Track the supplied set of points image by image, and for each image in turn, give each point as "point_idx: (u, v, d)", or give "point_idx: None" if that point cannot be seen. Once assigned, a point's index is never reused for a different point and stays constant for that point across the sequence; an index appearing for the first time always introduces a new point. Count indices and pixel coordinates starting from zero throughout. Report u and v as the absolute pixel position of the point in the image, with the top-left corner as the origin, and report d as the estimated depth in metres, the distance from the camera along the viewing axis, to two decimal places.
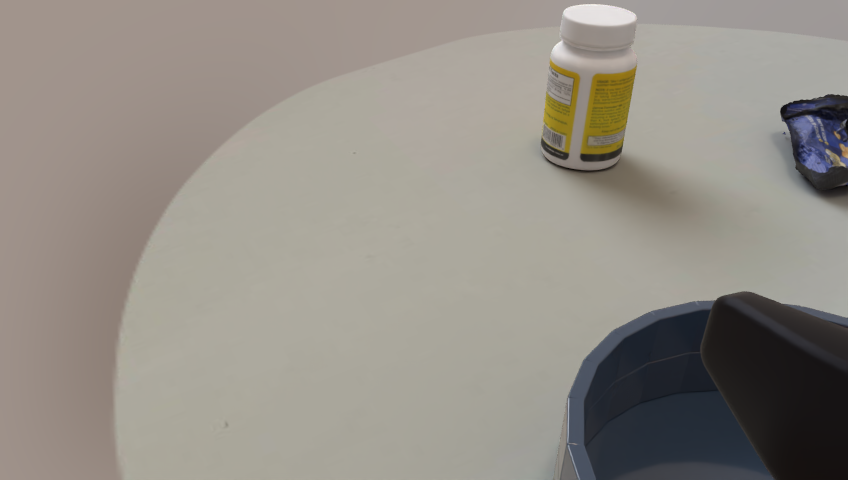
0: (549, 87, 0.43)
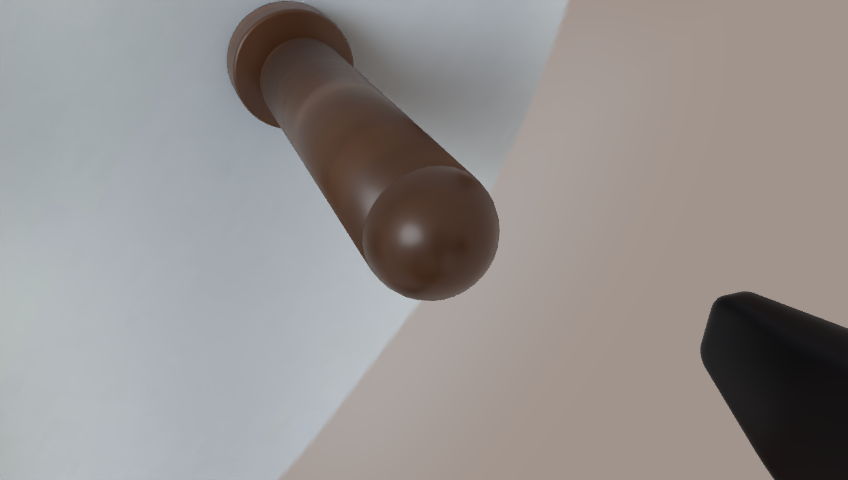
0: None
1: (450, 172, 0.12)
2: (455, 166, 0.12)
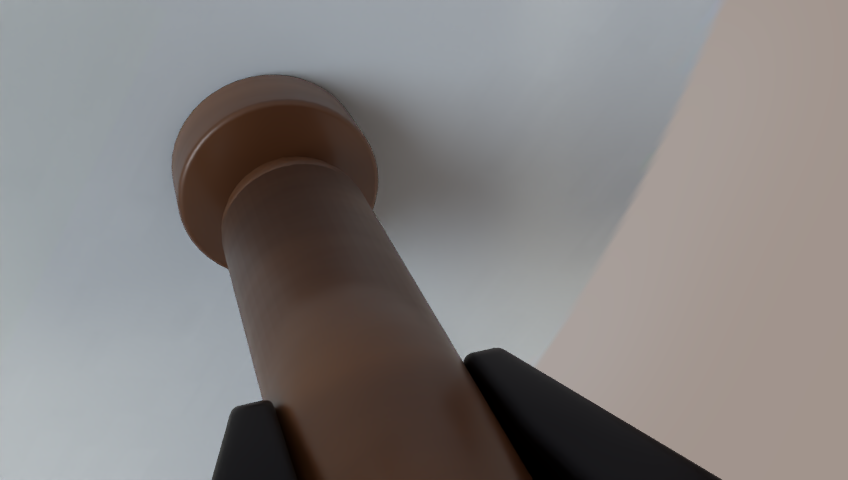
0: None
1: None
2: None
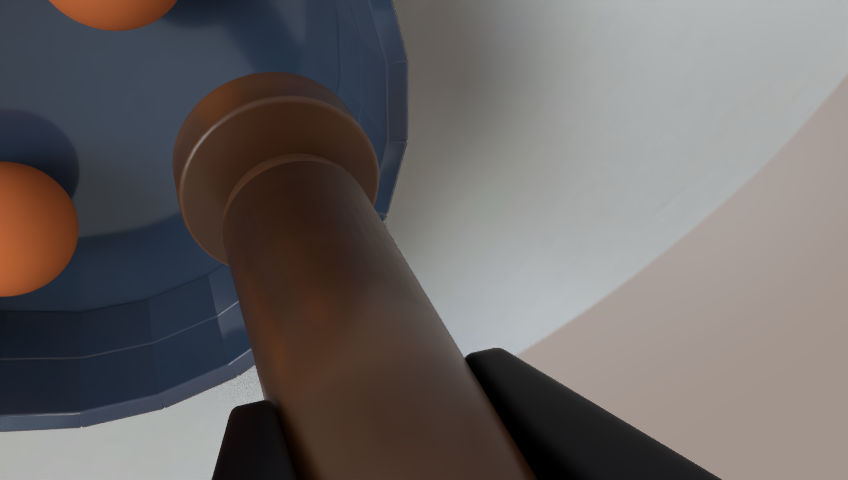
0: None
1: None
2: None
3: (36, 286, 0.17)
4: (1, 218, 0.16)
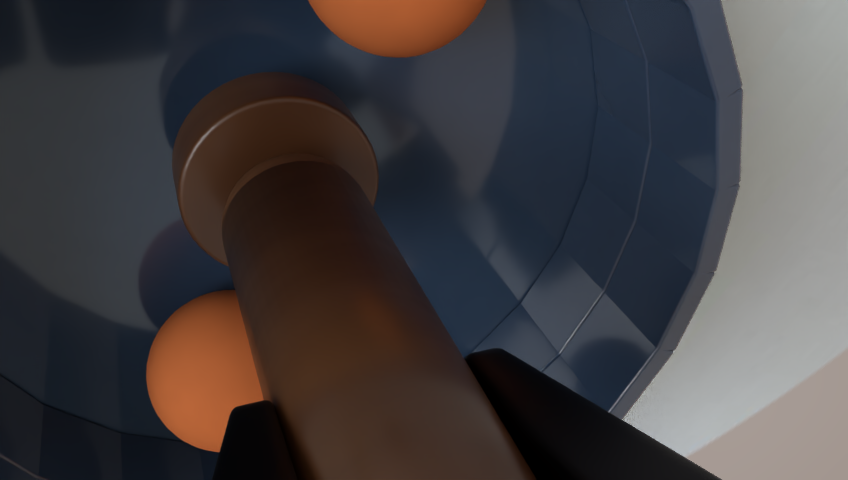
0: None
1: None
2: None
3: None
4: (250, 370, 0.13)
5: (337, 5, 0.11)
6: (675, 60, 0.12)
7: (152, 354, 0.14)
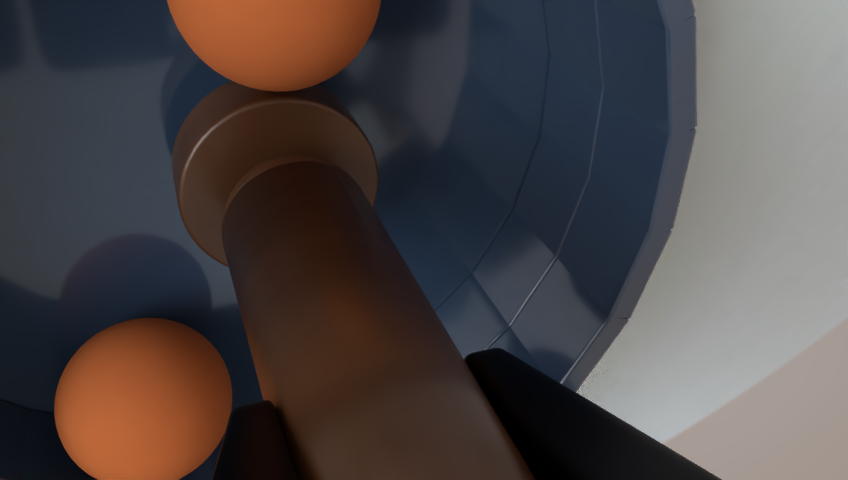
0: None
1: None
2: None
3: None
4: (164, 475, 0.13)
5: None
6: None
7: (62, 420, 0.13)
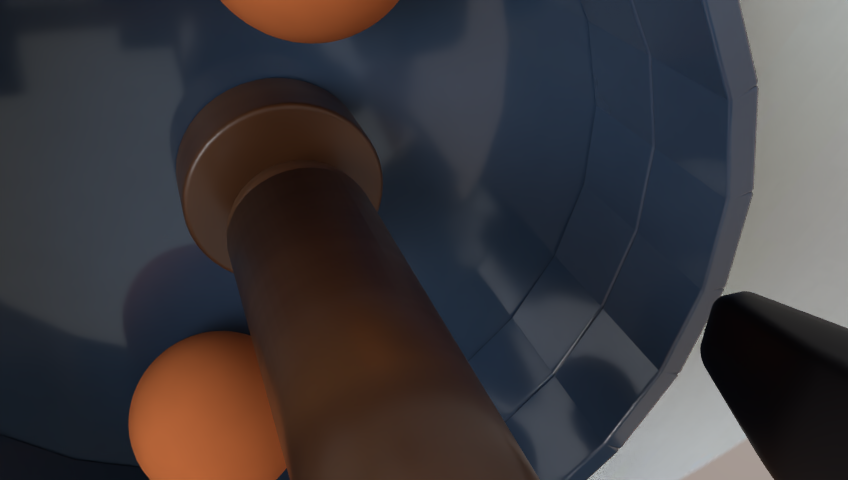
0: None
1: None
2: None
3: None
4: (266, 449, 0.13)
5: None
6: (682, 54, 0.11)
7: (150, 419, 0.12)
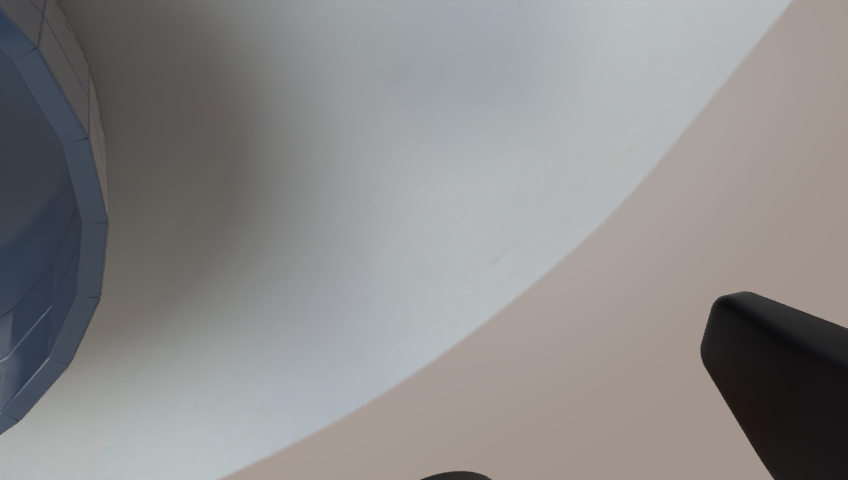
0: None
1: None
2: None
3: None
4: None
5: None
6: None
7: None
